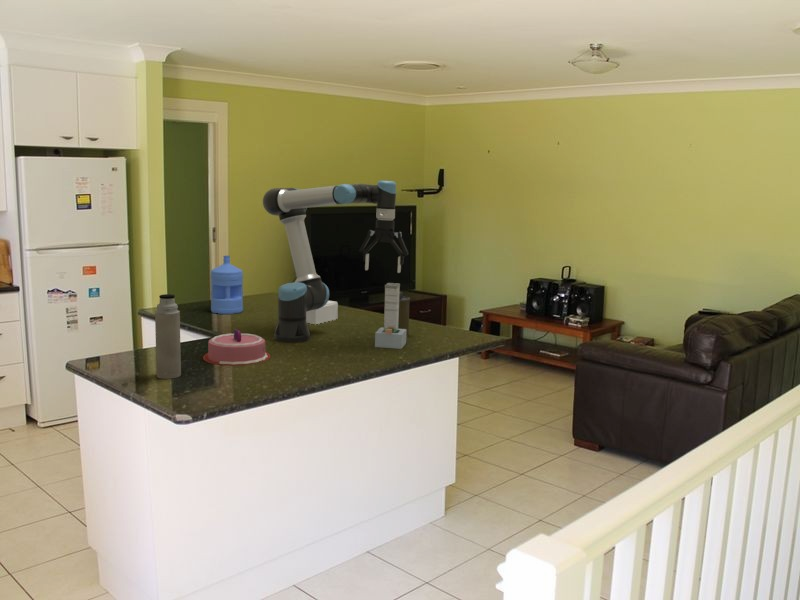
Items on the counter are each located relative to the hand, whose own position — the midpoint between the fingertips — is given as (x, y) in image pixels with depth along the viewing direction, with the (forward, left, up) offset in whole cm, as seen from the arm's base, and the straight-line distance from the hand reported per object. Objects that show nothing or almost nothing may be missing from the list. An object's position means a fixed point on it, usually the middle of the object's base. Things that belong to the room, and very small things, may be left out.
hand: (382, 271), depth 300 cm
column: (+5, -3, -24) cm, 25 cm away
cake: (-48, -37, -32) cm, 68 cm away
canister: (+4, +17, -31) cm, 35 cm away
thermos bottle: (-60, -67, -31) cm, 96 cm away
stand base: (+5, -3, -31) cm, 31 cm away
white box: (-42, +41, -31) cm, 66 cm away
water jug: (-88, +47, -31) cm, 104 cm away
